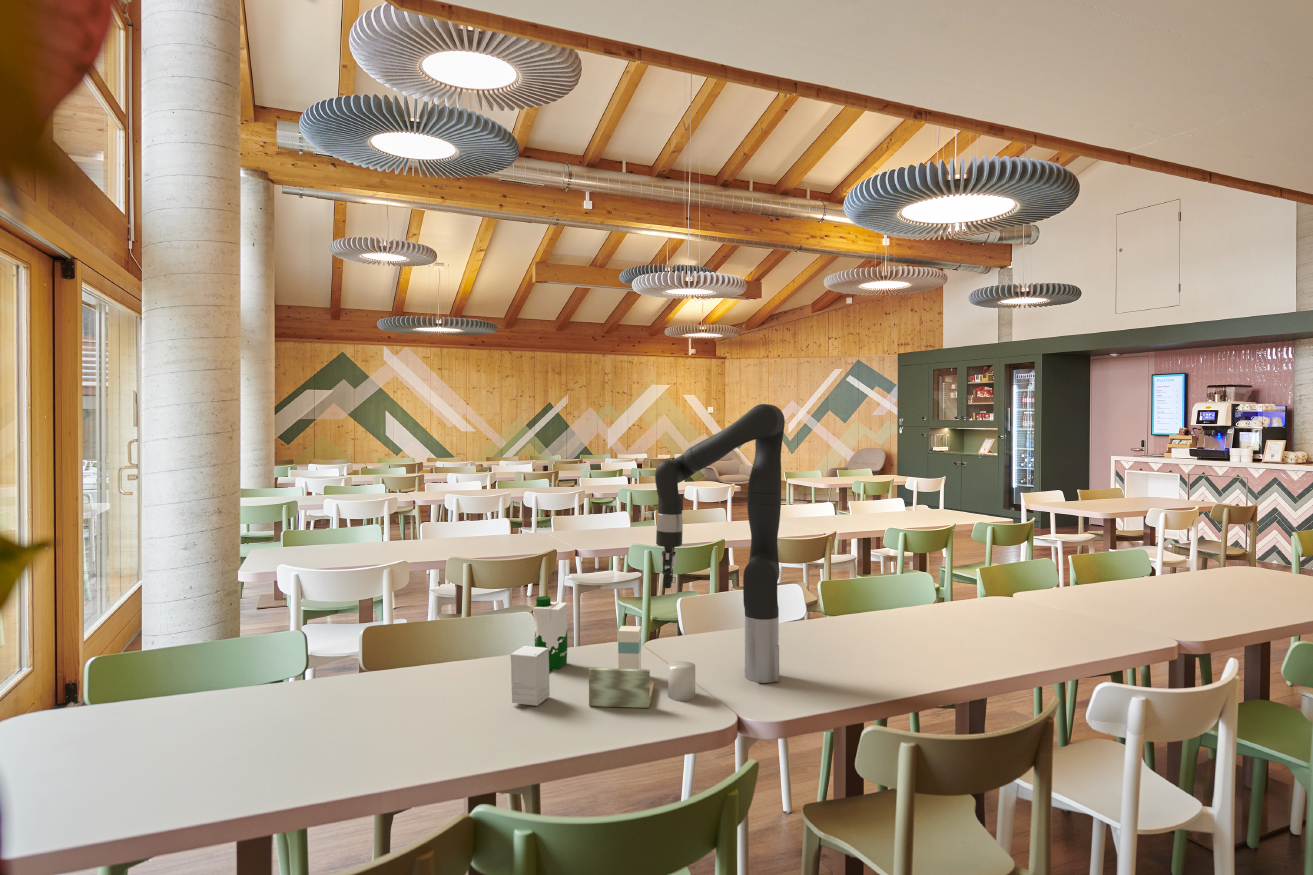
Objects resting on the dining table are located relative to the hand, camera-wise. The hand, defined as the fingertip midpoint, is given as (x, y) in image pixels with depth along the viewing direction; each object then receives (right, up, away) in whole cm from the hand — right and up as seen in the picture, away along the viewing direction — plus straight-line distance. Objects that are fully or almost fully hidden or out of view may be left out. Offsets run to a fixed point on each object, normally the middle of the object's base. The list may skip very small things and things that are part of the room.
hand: (668, 584), depth 224 cm
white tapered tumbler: (+3, -24, -25) cm, 35 cm away
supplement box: (-35, -24, -27) cm, 51 cm away
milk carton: (-34, -24, 0) cm, 41 cm away
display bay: (-12, -24, -25) cm, 37 cm away
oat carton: (-11, -24, -11) cm, 28 cm away
